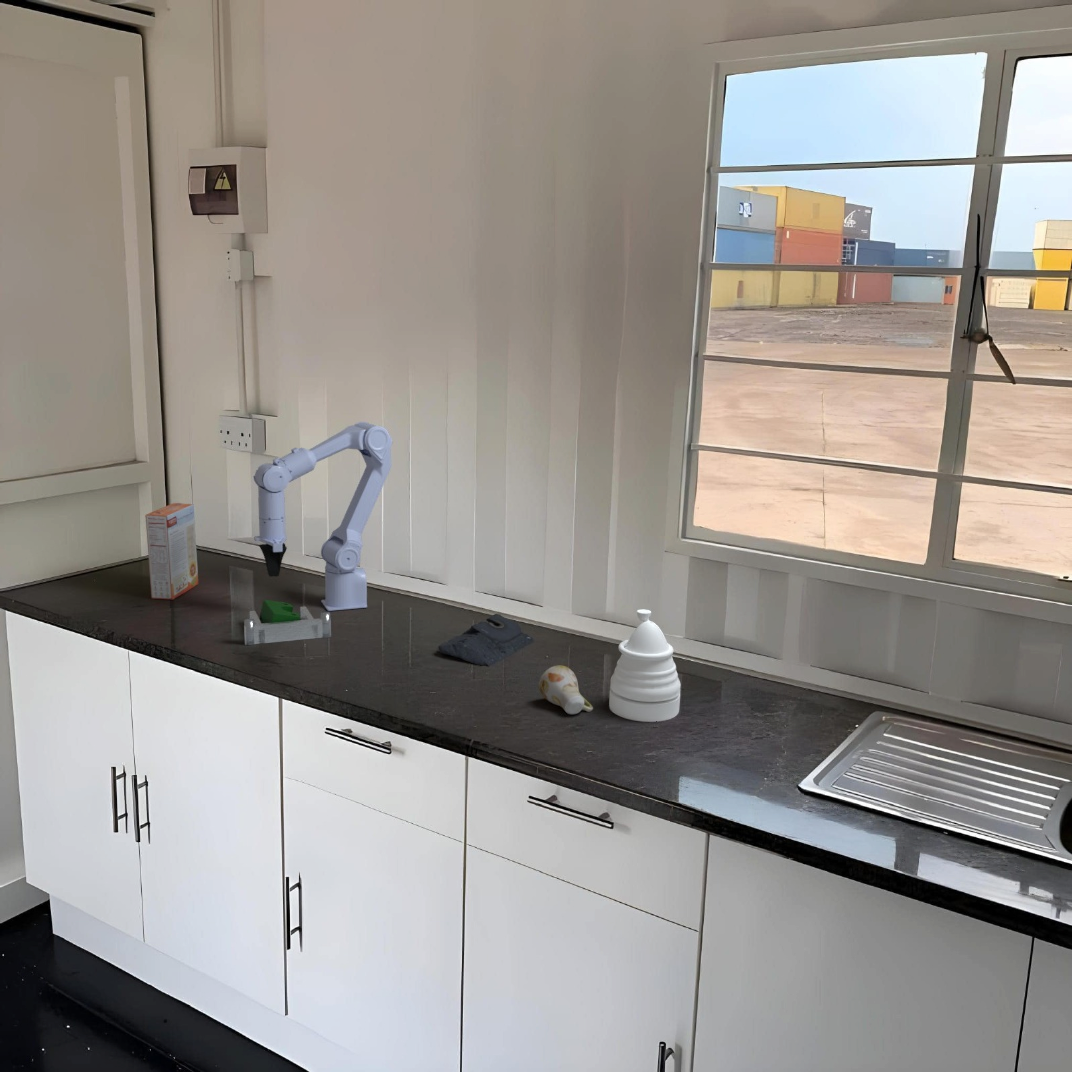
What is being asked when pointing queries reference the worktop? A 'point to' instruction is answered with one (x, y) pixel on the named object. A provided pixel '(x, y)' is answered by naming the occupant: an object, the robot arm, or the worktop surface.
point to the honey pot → (645, 676)
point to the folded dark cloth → (487, 641)
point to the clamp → (277, 612)
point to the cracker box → (172, 550)
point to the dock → (286, 628)
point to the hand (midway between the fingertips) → (273, 575)
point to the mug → (563, 689)
